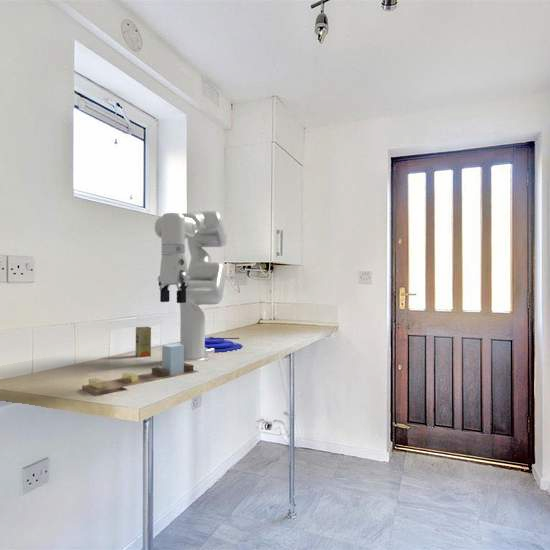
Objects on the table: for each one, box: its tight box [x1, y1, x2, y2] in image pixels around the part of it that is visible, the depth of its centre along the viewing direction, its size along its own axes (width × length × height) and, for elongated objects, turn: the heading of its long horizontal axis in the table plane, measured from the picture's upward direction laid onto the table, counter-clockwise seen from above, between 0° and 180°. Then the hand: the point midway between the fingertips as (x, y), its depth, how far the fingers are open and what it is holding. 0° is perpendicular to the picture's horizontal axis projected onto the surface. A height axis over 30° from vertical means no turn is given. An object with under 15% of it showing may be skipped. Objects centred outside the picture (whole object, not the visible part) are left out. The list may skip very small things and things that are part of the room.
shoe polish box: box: [135, 325, 152, 358], centre depth 167 cm, size 5×5×12 cm
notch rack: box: [81, 362, 200, 396], centre depth 123 cm, size 34×10×3 cm, turn 137°
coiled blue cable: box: [205, 336, 243, 354], centre depth 189 cm, size 30×6×30 cm
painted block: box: [161, 343, 185, 375], centre depth 131 cm, size 5×5×9 cm
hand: (172, 302), depth 131 cm, fingers open, 9 cm apart
